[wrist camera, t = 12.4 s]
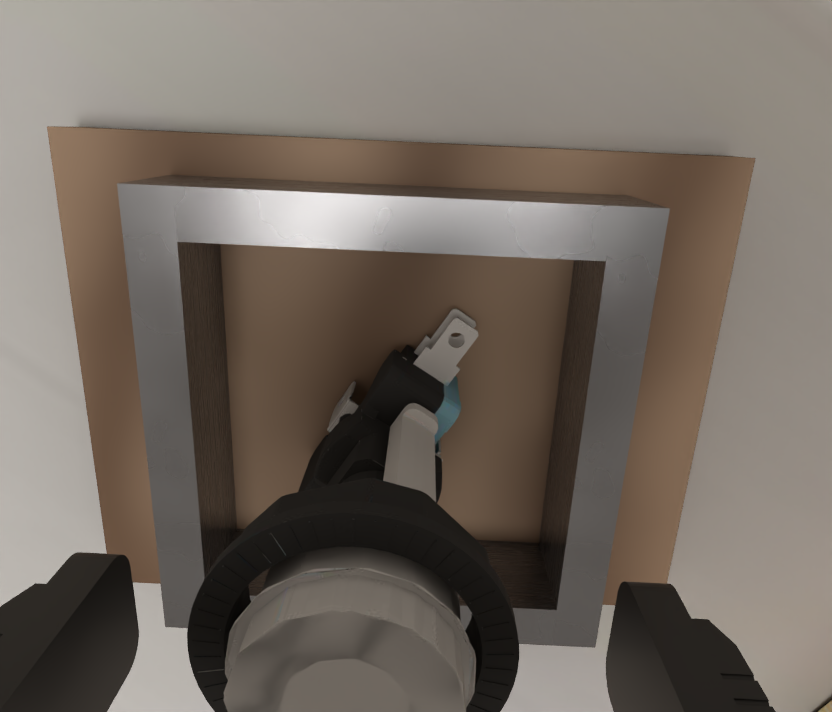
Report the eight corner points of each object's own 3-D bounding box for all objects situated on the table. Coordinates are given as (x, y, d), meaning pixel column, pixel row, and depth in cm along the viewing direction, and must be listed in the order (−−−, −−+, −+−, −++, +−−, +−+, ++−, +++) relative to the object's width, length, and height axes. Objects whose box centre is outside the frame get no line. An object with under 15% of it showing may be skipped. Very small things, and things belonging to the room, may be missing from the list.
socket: (628, 195, 17) (669, 208, 14) (572, 576, 20) (595, 647, 18) (170, 174, 17) (116, 183, 14) (201, 558, 21) (165, 626, 18)
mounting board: (728, 156, 18) (755, 158, 16) (646, 577, 22) (661, 607, 21) (77, 127, 18) (46, 126, 16) (131, 552, 22) (110, 581, 21)
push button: (386, 256, 17) (335, 408, 8) (543, 362, 18) (668, 613, 9) (263, 439, 19) (102, 740, 10) (411, 526, 20) (395, 880, 11)
